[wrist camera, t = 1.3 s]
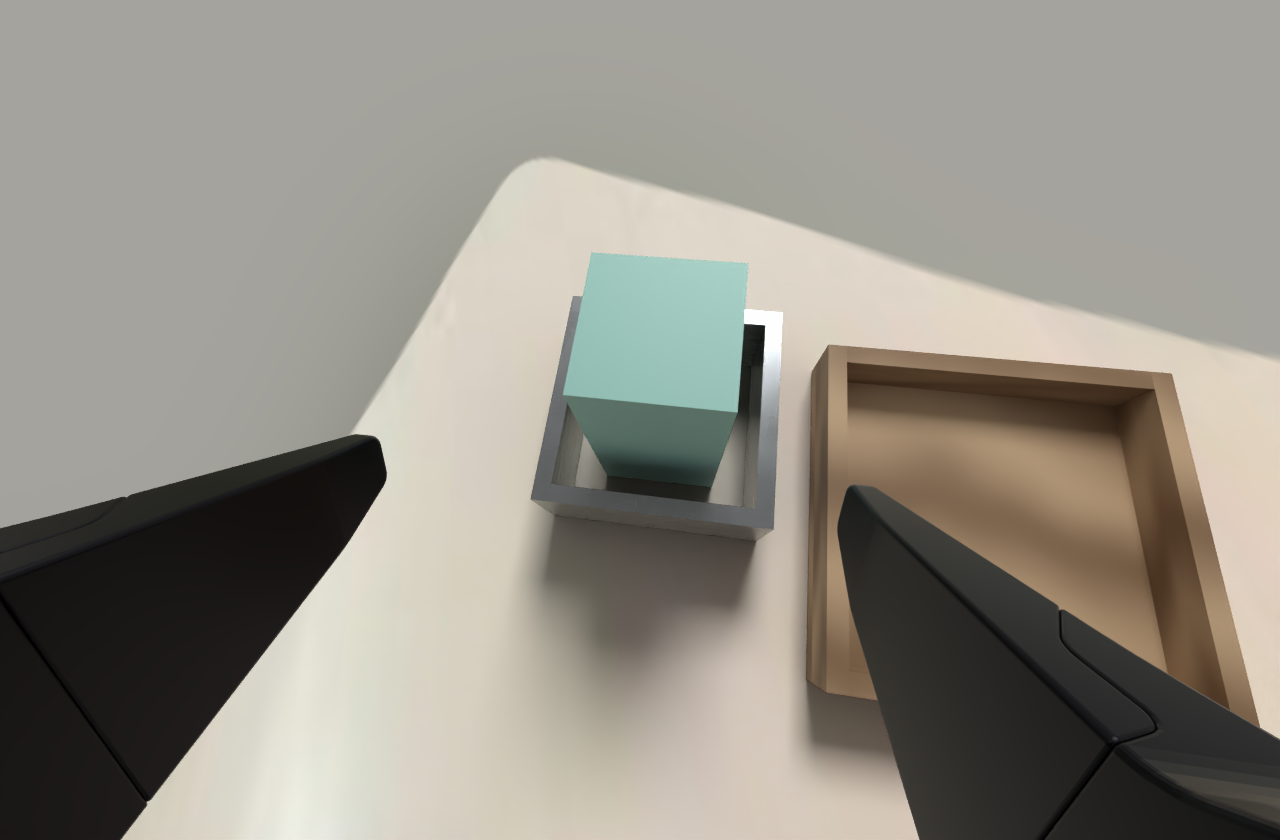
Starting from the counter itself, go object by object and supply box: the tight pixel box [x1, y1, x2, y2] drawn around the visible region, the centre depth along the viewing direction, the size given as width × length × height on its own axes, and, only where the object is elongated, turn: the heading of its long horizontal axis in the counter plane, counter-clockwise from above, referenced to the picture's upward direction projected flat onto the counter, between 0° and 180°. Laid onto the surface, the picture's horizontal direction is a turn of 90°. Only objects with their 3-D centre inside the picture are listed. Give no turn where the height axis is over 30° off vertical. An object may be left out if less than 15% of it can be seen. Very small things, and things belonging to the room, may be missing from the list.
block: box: [563, 253, 748, 487], centre depth 19 cm, size 5×5×10 cm
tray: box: [806, 345, 1260, 727], centre depth 20 cm, size 14×14×3 cm
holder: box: [531, 296, 783, 541], centre depth 22 cm, size 9×9×4 cm
